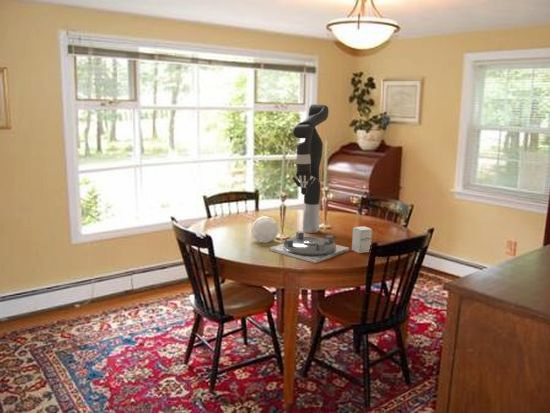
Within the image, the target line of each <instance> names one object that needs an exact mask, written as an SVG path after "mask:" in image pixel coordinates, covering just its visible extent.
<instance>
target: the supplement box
mask: <svg viewBox="0 0 550 413" xmlns="http://www.w3.org/2000/svg"><path fill="white" fill-rule="evenodd" d="M372 234H373V228H370V227H367V226H366V225H364V226H354V227H353V228H352V239H351V240H352V241H351V242H352V243H351V251H353V252H356V253H357V254H363V253H370V252H369V249H370V245H371V246H372V237H373V236H372Z"/></svg>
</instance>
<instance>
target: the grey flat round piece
mask: <svg viewBox="0 0 550 413" xmlns="http://www.w3.org/2000/svg"><path fill="white" fill-rule="evenodd" d="M304 233H305V232H304V231H296V235H295V237H290V238H287V239H285V240H283V243H282V244H283V247H284V249H285V250H287V251H289V252H293V253H297V254H303V255H323V254H328V253H332V252H334V251H335V250H336V245H337V244H336V242H334V241H335V240H334V239H335V237H334V235H326V236H325V238H324V237H318V236H317V237H316V236H305V234H304Z"/></svg>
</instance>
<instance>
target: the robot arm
mask: <svg viewBox="0 0 550 413" xmlns="http://www.w3.org/2000/svg"><path fill="white" fill-rule="evenodd" d="M307 115H308V116H307V117H306V118H305V119H304V120H303V121H302V122H299V123H297V124H295V125H294V126H293V129H292V136H293V137H294V138H295V139H304V141H303V142H299V143H297V144H296V160H295V161H296V174H295V176H293V177H292V180H293V182H294V183H295V184H296V186H297V187H300V191H301V192H300V194H302V195H303V196H304V197H303V215H302V216H303V219H302V220H303V221H302V232H303V233H308V234H309V233H310V234H313V233H315V234H316V233H318V232H319V231H320V217H321V216H320V200H321V198H320V197H321V182H320V166H321V161H322V158H323V157H322V156H323V150H324V149H323V147H324V146H323V140H322V139H321V137H320V135H319V132H318V131H317V128H316V127H317V126H319V125H320V124H322V123H324V122H325V121H327V119H328V118H329V107H328V106H327V105H325V104H313V103H312V104H310V105H309V106H308V114H307Z"/></svg>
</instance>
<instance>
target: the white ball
mask: <svg viewBox="0 0 550 413" xmlns="http://www.w3.org/2000/svg"><path fill="white" fill-rule="evenodd" d="M251 232H252V235H253V237H254V239H256V241H257V242H261V243H264V244H267V243H270V242H273V241H274V240H275V239H276V238H277V236H278V232H279V228H278V223H277V221H276V220H275V219H273V218H272V217H271V216H270V217H269V216H266V215H263V216H260V217H258V218H256V220H255V221H254V222H253V223H252V227H251Z"/></svg>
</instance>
